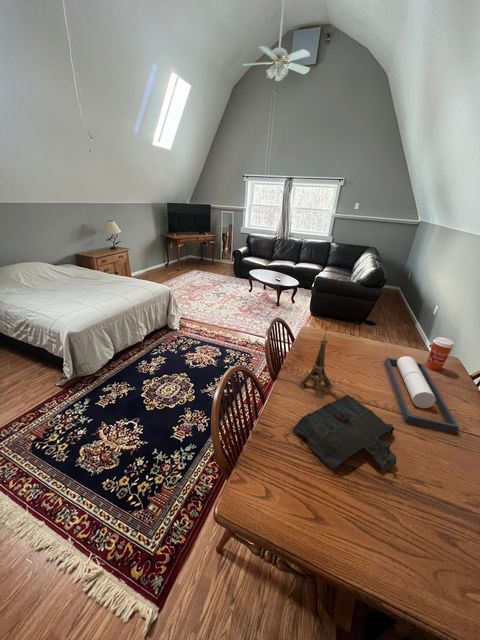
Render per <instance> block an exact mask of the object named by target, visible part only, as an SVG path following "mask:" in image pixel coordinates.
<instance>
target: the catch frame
mask: <svg viewBox="0 0 480 640" xmlns="http://www.w3.org/2000/svg"><path fill="white" fill-rule="evenodd" d="M398 359H399V358H391V357H385V359H384V366H385V368H386V372H387V374H388V377H389V379H390V383H391V385H392V388H393V389H392V390H393V391H394V395H395V398H396V400H397V404H398V406H399V409H400V411H401V414H402V417H403V419H404V423H406V424H410V425H414V426H418V427H423V428H427V429H432V430H437V431H441V432H445V433H450V434H454V435H456V434H457V432H458V430H459V428H460V426H459V425H458V423H457V421H456V419H455V418H454V416H453V414H452V413H451V410H450V409H449V407H448V405H447V404H446V401H444V398H443V397H442V395H441V393H440V392H439V390H438V388H437V386H436V385H435V383H434V381H433V379H432V377H431V376H430V375H429V372H428V371H427V369H426V367H425V366H424V364H423V363H419V362H416V364H417V365H418V367H419V369H420V371H421V373H422V374H423V376H424V378H425V380H426V382H427V384H428V385H429V387H430V389H431V391H432V393H433V394H434V396H435V398H436V402H435V404H436V405H437V407H438V409H439V411H440V413H441V415H442V417H443V419H444V420H445V421H441V420H437V419H432V418H427V417H422V416H418V415H413V414H411V413H410V410H409V408H408V404H407V402H406V399H405V397H404V395H403V392H402V389H401V386H400V384H399V382H398V379H397V376H396V373H395V371H394V369H393V366H394V367H398V366H397V361H398Z"/></svg>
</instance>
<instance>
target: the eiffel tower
mask: <svg viewBox="0 0 480 640" xmlns="http://www.w3.org/2000/svg"><path fill="white" fill-rule="evenodd" d="M326 334H327V332H325V333H324V337H323V338H322V339H320V342H319V343H320V347H319V350H318V353H317V356H316V358H315V361H314V364H312V368H311V371H309V372H308V374H307V375H306V377H305V378H303V380H301V381H299V382H298V383H297V384H296V386H297V387H299V388H301V389H304V388H305V387H307V383H308V382H309V381H314V382H315V383H316V384H317V385H316V392H315V393H314V396H316V397H318V398H320V399H323V397H324V396H325V395H326V394H325V392H324V390H323V387H322V382H323V386H324V387H326V388H328V389H331V388H332V387H333V386H334V384H333V383H332V382H331V381H330V379H329V378H328V376H327V373H326V371H325V367H326V365H327V364H326V363H325V357H326V356H325V355H326V345H327V344H328V343H329V342H328V339H326Z"/></svg>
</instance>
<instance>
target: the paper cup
mask: <svg viewBox="0 0 480 640" xmlns="http://www.w3.org/2000/svg"><path fill="white" fill-rule="evenodd" d="M454 348H455V343H454V341H452V340H451V339H449V338H446V337H441V336H438V337H437V336H436V337H435V338H434V339H433V340H432V346H431V349H430V352H429V354H428V358H427V361H426V368H428V369H430V370H432V371H436V372H440V371H441V370H442V368H443V366H444V365H445V363H446V361H447V359H448V358H449V355H450V354H451V351H452V350H453V349H454Z"/></svg>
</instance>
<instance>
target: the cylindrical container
mask: <svg viewBox="0 0 480 640" xmlns="http://www.w3.org/2000/svg"><path fill="white" fill-rule="evenodd" d="M397 359H398V361H397V366H396V367H397V369H398V371H399V373H400V375H401V377H402V380H403V382H404V384H405V387H406V389H407V392H408V394H409V396H410V398H411V401H412V403H413V404H414V406H415V407H418V408H419V409H429V408H431V407H433V406H434V405H435V404H436V398H435V396H434V394H433V393H432V391H431V389H430V387H429V385H428V384H427V382H426V380H425V378H424V376H423V374H422V373H421V371H420V369H419V367H418V365H417V364H416V363H417V362H416V359H415V358H413V357H412V356H409V355H404V356H401V357H400V358H397Z"/></svg>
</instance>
